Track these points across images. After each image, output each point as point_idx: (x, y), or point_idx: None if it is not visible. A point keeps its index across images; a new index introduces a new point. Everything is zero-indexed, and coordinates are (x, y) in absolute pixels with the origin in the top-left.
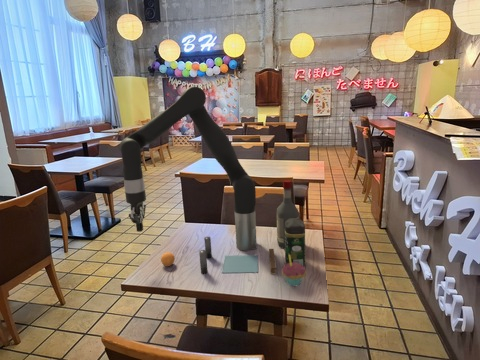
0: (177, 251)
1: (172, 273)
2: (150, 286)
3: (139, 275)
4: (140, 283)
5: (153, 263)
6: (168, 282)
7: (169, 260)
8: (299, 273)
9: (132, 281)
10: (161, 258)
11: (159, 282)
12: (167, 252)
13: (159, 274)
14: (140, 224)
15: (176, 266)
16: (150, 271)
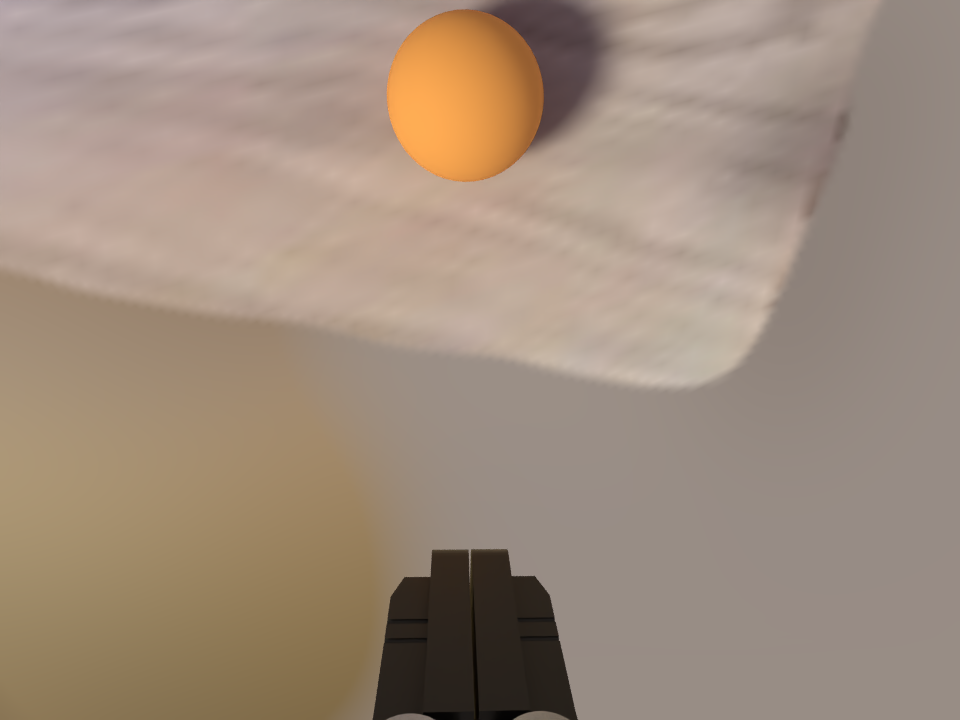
0: (139, 74)
1: (633, 19)
2: (822, 185)
3: (624, 338)
4: (754, 288)
5: (419, 278)
6: (795, 22)
7: (533, 57)
8: None
9: (710, 364)
10: (502, 166)
11: (775, 117)
12: (436, 95)
13: (633, 157)
14: (525, 689)
15: (493, 4)
16: (567, 262)
